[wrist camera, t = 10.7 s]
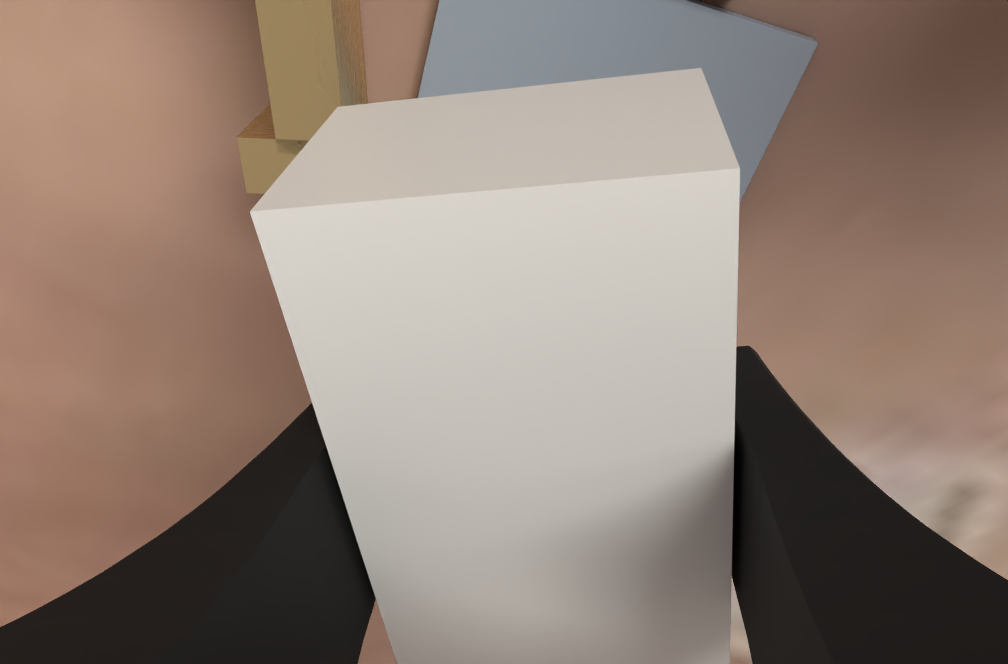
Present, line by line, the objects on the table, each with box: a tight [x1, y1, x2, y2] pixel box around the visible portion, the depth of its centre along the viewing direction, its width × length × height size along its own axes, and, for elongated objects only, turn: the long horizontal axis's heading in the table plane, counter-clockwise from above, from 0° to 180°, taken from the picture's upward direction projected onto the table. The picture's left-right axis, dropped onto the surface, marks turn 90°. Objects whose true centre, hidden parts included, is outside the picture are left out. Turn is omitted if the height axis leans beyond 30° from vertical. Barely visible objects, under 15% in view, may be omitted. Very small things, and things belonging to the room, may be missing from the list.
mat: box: [418, 0, 818, 204], centre depth 20 cm, size 8×10×1 cm
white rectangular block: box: [250, 68, 740, 664], centre depth 12 cm, size 5×9×4 cm, turn 8°
